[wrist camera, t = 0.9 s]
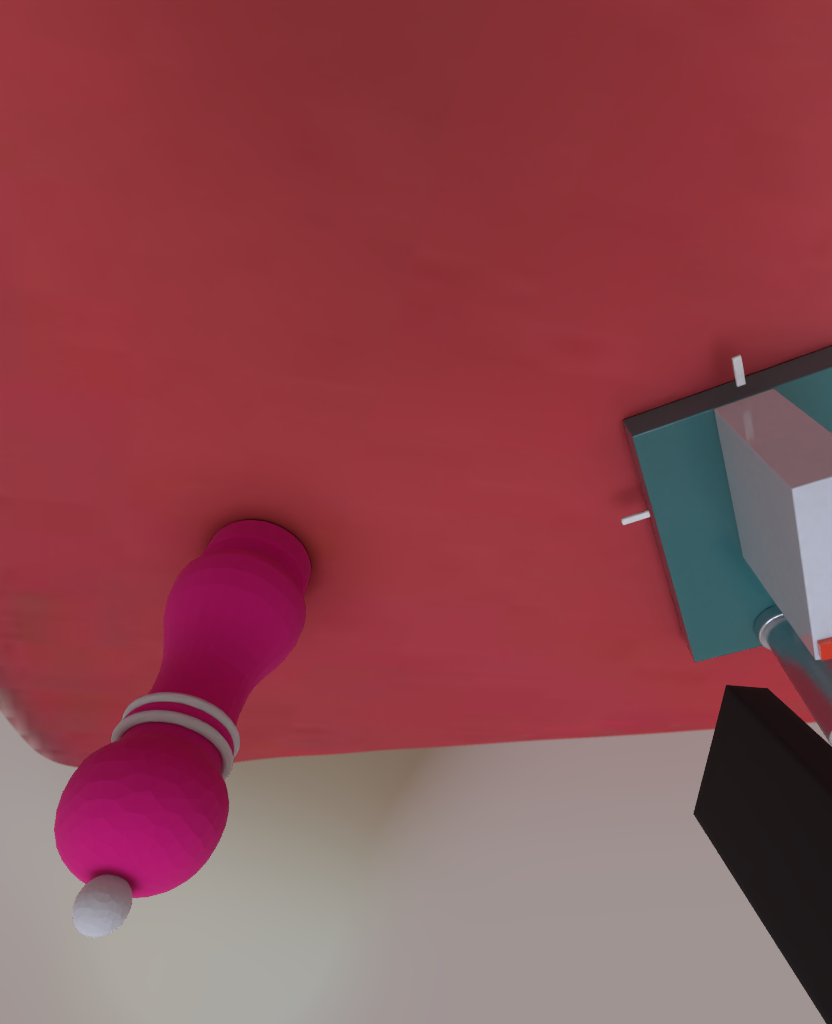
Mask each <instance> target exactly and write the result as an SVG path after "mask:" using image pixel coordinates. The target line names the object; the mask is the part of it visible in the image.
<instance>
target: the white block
mask: <svg viewBox="0 0 832 1024" xmlns="http://www.w3.org/2000/svg"><path fill="white" fill-rule="evenodd" d="M714 413H715V418H716V423H717V428H718V433H719V438H720V443H721V448H722V453H723V458H724V463H725V468H726V473H727V478H728V483H729V489H730V494H731V499H732V504H733V509H734V514H735V519H736V524H737V529H738V534H739V539H740V544H741V549H742V554H743V557H744V559H745V560H746V562H747V563H748V564H749V566H750V567H751V569H752V570H753V572H754V573H755V574H756V576H757V577H758V579H759V580H760V582H761V583H762V584H763V586H764V587H765V589H766V590H767V592H768V593H769V594H770V596H771V597H772V599H773V600H774V602H775V603H776V604H777V606H778V607H779V609H780V610H781V612H782V613H783V614H784V616H785V617H786V619H787V620H788V622H789V623H790V624H791V626H792V627H793V629H794V630H795V632H796V633H797V634H798V636H799V637H800V639H801V640H802V642H803V643H804V645H805V646H806V647H807V649H808V650H809V652H810V653H811V655H812V656H813V657H814V659H815V660H820V659H821V660H822V661H824V660H828V659H832V433H831V432H829V431H828V430H827V429H826V428H824V427H823V426H822V425H820V424H819V423H818V422H816V421H815V420H814V419H813V418H811V417H810V416H809V415H807V414H806V413H805V412H803V411H802V410H801V409H800V408H798V407H797V406H796V405H794V404H793V403H792V402H790V401H789V400H788V399H786V398H785V397H784V396H783V395H781V394H780V393H779V392H777V391H776V390H775V389H770V390H768V391H765V392H762V393H759V394H756V395H753V396H750V397H747V398H745V399H742V400H739V401H736V402H733V403H730V404H727V405H724V406H721V407H719V408H716V409H714Z"/></svg>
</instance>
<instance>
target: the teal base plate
mask: <svg viewBox="0 0 832 1024" xmlns="http://www.w3.org/2000/svg"><path fill="white" fill-rule="evenodd" d="M731 359H732V364H733V370H734V376H735V381H732V382H729V383H726V384H723V385H721V386H718V387H715V388H712V389H709V390H707V391H704V392H701V393H698V394H695V395H693V396H690V397H687V398H684V399H681V400H678V401H676V402H673V403H670V404H667V405H664V406H662V407H659V408H656V409H653V410H650V411H648V412H645V413H642V414H639V415H636V416H634V417H631V418H628V419H625V420H623V424H624V428H625V431H626V435H627V439H628V442H629V446H630V449H631V453H632V456H633V460H634V463H635V467H636V470H637V474H638V478H639V481H640V485H641V488H642V492H643V495H644V499H645V502H646V506H647V509H648V510H646V511H643V512H640V513H637V514H633V515H630V516H627V517H624V518H621V521H622V524H623V525H626V524H629V523H632V522H635V521H638V520H642V519H645V518H648V517H650V520H651V524H652V527H653V531H654V534H655V538H656V541H657V545H658V548H659V552H660V555H661V559H662V563H663V566H664V570H665V573H666V577H667V580H668V584H669V587H670V591H671V594H672V598H673V601H674V605H675V609H676V612H677V616H678V619H679V623H680V626H681V630H682V633H683V637H684V640H685V642H686V644H687V647H688V649H689V651H690V653H691V655H692V657H693V659H694V661H695V662H698V661H702V660H706V659H710V658H715V657H719V656H723V655H727V654H731V653H735V652H739V651H743V650H747V649H751V648H755V647H759V646H763V645H762V644H761V643H760V642H759V640H758V638H757V637H756V635H755V633H754V622H755V620H756V619H757V617H758V616H759V615H760V614H761V613H762V612H763V611H764V610H766V609H768V608H770V607H772V606H774V605H777V604H776V603H775V602H774V600H773V599H772V597H771V596H770V594H769V593H768V592H767V590H766V589H765V587H764V586H763V584H762V583H761V582H760V580H759V579H758V577H757V576H756V574H755V573H754V572H753V570H752V569H751V567H750V566H749V564H748V563H747V562H746V560H745V559H744V557H743V554H742V549H741V544H740V539H739V534H738V529H737V524H736V519H735V514H734V509H733V504H732V499H731V494H730V489H729V483H728V478H727V473H726V468H725V463H724V458H723V453H722V448H721V443H720V438H719V433H718V428H717V423H716V418H715V413H714V409H716V408H719V407H721V406H724V405H727V404H730V403H733V402H736V401H739V400H742V399H745V398H747V397H750V396H753V395H756V394H759V393H762V392H765V391H768V390H770V389H775V390H776V391H777V392H779V393H780V394H781V395H783V396H784V397H785V398H786V399H788V400H789V401H790V402H792V403H793V404H794V405H796V406H797V407H798V408H800V409H801V410H802V411H803V412H805V413H806V414H807V415H809V416H810V417H811V418H813V419H814V420H815V421H816V422H818V423H819V424H820V425H822V426H823V427H824V428H826V429H827V430H828V431H829V432H831V433H832V346H830V347H827V348H825V349H822V350H819V351H816V352H813V353H811V354H808V355H805V356H802V357H799V358H797V359H794V360H791V361H788V362H785V363H783V364H780V365H777V366H774V367H771V368H768V369H766V370H763V371H760V372H757V373H754V374H752V375H749V376H746V377H745V376H744V370H743V364H742V358H741V355H737V356H735V357H732V358H731Z"/></svg>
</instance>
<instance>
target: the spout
mask: <svg viewBox="0 0 832 1024" xmlns="http://www.w3.org/2000/svg"><path fill="white" fill-rule="evenodd" d="M754 633H755V635H756V637H757V638H758V640H759V642H760V643H761V644H762V645H763V646H764V647H765V648H767V649H769V650H772V652H773V653H774V655H775V656H776V658H777V660H778V661H779V663H780V664H781V666H782V668H783V669H784V671H785V672H786V674H787V676H788V677H789V679H790V680H791V682H792V684H793V685H794V687H795V688H796V690H797V692H798V693H799V695H800V696H801V698H802V700H803V701H804V703H805V704H806V706H807V708H808V709H809V711H810V712H811V714H812V715H813V717H814V719H815V720H816V722H817V723H818V725H819V727H820V728H821V730H822V731H823V733H824V735H825V736H826V738H827V739H828V741H829V742H830V744H831V745H832V659H828V660H824V661H822V660H821V659H820V660H815V659H814V657H813V656H812V655H811V653H810V652H809V650H808V649H807V647H806V646H805V645H804V643H803V642H802V640H801V639H800V637H799V636H798V634H797V633H796V632H795V630H794V629H793V627H792V626H791V624H790V623H789V622H788V620H787V619H786V617H785V616H784V614H783V613H782V612H781V610H780V609H779V607H778V606H777V605H774V606H772V607H770V608H768V609H766V610H764V611H763V612H762V613H761V614H760V615H759V616H758V617H757V619H756V620H755V622H754Z"/></svg>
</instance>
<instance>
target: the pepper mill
mask: <svg viewBox="0 0 832 1024" xmlns="http://www.w3.org/2000/svg"><path fill="white" fill-rule="evenodd" d="M310 576H311V564H310V559H309V556H308V554H307V552H306V550H305V548H304V547H303V545H302V544H301V543H300V542H299V541H298V540H297V539H296V538H295V536H294V535H292V534H291V533H289V532H288V531H286V530H285V529H283V528H282V527H280V526H277V525H275V524H272V523H269V522H266V521H257V520H244V521H238V522H234V523H231V524H229V525H227V526H225V527H223V528H222V529H220V530H219V531H218V532H217V533H216V534H215V535H214V536H213V538H212V539H211V541H210V543H209V544H208V546H207V548H206V549H205V551H204V553H203V554H202V556H200V557H198V558H197V559H195V560H193V561H192V562H190V563H189V564H188V565H187V566H186V567H185V568H184V569H183V570H182V571H181V573H180V574H179V575H178V577H177V579H176V581H175V583H174V585H173V588H172V590H171V592H170V594H169V596H168V600H167V604H166V609H165V614H164V652H163V660H162V664H161V669H160V672H159V674H158V677H157V679H156V681H155V683H154V685H153V688H152V689H151V691H150V692H149V693H148V695H145V696H142V697H140V698H138V699H136V700H135V701H134V702H132V703H131V704H130V705H129V706H128V707H127V709H126V710H125V712H124V714H123V718H122V721H121V722H120V723H119V724H118V725H117V726H116V728H115V729H114V731H113V734H112V738H111V743H110V744H108V745H106V746H104V747H102V748H100V749H99V750H97V751H95V752H94V753H92V754H91V755H90V756H89V757H87V758H86V759H85V760H84V761H83V762H82V763H81V765H80V766H79V767H78V769H77V770H76V771H75V772H74V774H73V775H72V777H71V778H70V780H69V782H68V784H67V786H66V787H65V790H64V791H63V793H62V796H61V799H60V802H59V805H58V808H57V812H56V820H55V828H54V832H55V839H56V846H57V849H58V852H59V854H60V856H61V859H62V861H63V862H64V863H65V865H66V866H67V867H68V869H69V870H70V871H71V872H72V873H73V874H74V875H75V876H76V877H77V878H78V879H79V880H81V881H82V882H84V883H85V884H86V885H85V886H84V887H83V888H82V889H81V891H80V892H79V894H78V895H77V897H76V899H75V902H74V905H73V918H72V919H73V922H74V925H75V927H76V928H77V930H78V931H79V932H80V933H81V934H84V935H86V936H88V937H101V936H105V935H108V934H110V933H111V932H113V931H114V930H116V929H117V928H118V927H119V926H120V925H121V924H122V923H123V922H124V920H125V919H126V918H127V915H128V913H129V911H130V908H131V905H132V898H140V897H149V896H153V895H157V894H160V893H164V892H167V891H169V890H171V889H173V888H175V887H177V886H179V885H181V884H182V883H184V882H186V881H187V880H188V879H190V878H191V877H192V876H193V875H195V874H196V873H197V872H198V871H199V870H200V868H201V867H202V866H203V865H204V864H205V863H206V862H207V860H208V859H209V858H210V856H211V854H212V853H213V851H214V849H215V848H216V846H217V844H218V842H219V841H220V838H221V836H222V833H223V831H224V828H225V826H226V821H227V816H228V812H229V800H228V792H227V788H226V784H225V781H224V780H225V779H226V778H227V777H228V775H229V774H230V772H231V770H232V766H233V759H234V758H235V756H236V754H237V752H238V750H239V745H240V737H239V733H238V730H237V728H236V724H237V721H238V717H239V714H240V712H241V710H242V708H243V706H244V704H245V702H246V700H247V697H248V695H249V694H250V693H251V691H252V690H253V688H254V687H255V686H256V685H257V684H258V683H259V682H260V681H261V680H262V679H264V678H265V677H266V676H267V675H268V674H270V673H271V672H272V671H273V670H274V669H275V668H277V667H278V666H279V665H280V664H281V663H282V662H283V661H284V660H285V658H286V657H287V656H288V655H289V653H290V652H291V651H292V649H293V648H294V647H295V645H296V643H297V641H298V638H299V636H300V634H301V632H302V629H303V627H304V623H305V617H306V605H305V600H304V595H305V592H306V589H307V586H308V583H309V580H310Z"/></svg>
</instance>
